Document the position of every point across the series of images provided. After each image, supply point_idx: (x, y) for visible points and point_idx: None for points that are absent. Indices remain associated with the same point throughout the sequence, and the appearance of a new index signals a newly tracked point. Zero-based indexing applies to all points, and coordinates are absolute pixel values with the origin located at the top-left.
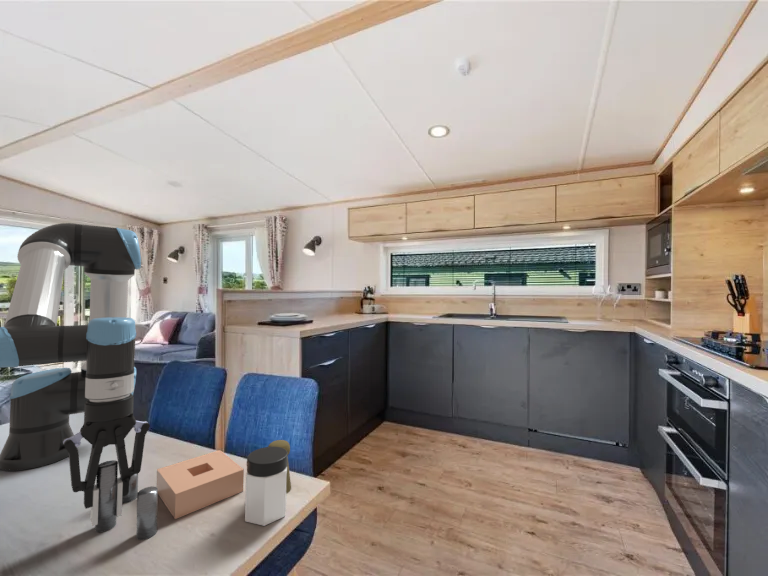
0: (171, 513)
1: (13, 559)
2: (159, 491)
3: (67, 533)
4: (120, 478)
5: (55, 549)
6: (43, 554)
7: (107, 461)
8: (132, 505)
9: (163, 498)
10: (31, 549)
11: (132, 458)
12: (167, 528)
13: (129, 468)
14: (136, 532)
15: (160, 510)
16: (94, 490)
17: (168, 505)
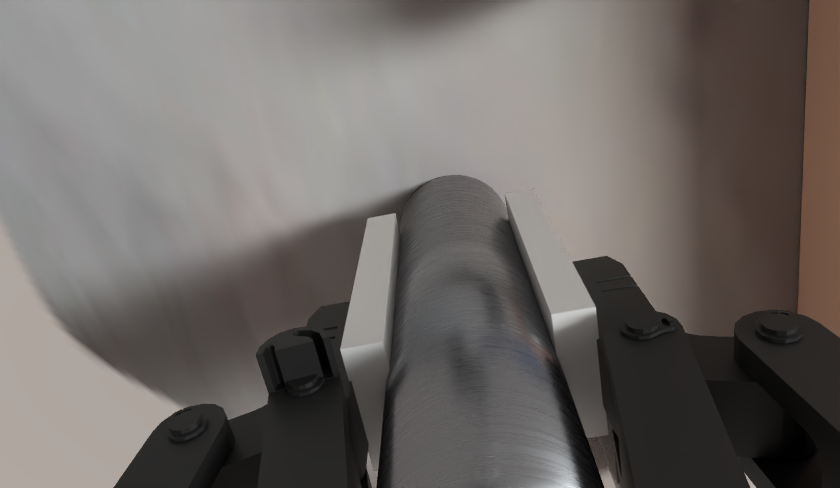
0: (799, 310)
1: (55, 277)
2: (830, 2)
3: (254, 172)
4: (597, 346)
5: (233, 303)
6: (188, 315)
7: (497, 485)
8: (615, 36)
9: (819, 127)
10: (109, 232)
11: (822, 440)
12: None
13: (719, 400)
14: (601, 440)
15: (757, 226)
16: (378, 457)
17: (815, 256)
